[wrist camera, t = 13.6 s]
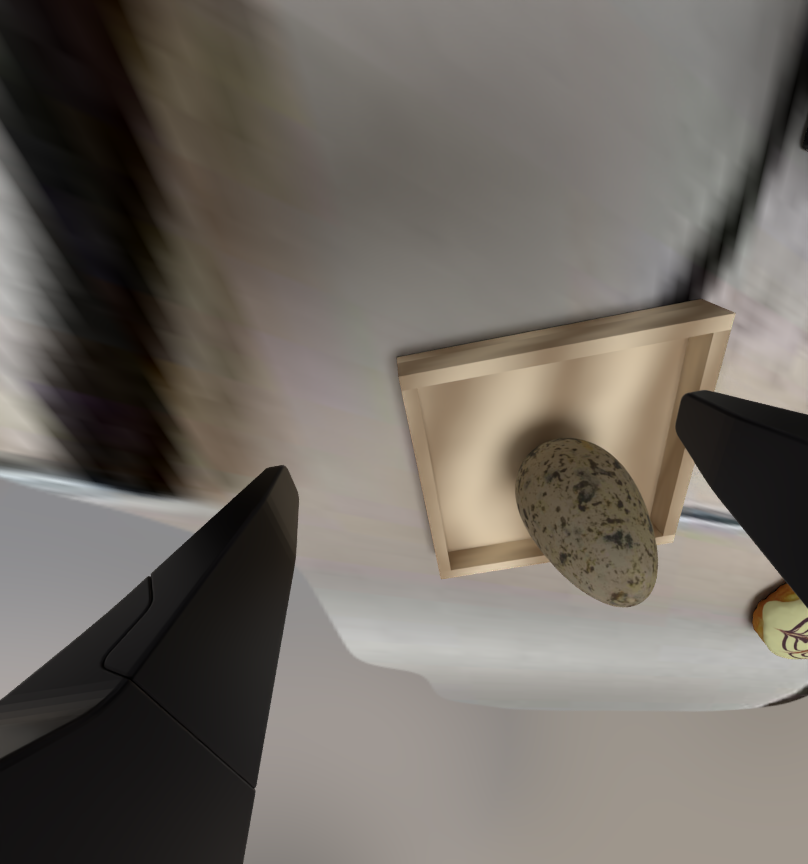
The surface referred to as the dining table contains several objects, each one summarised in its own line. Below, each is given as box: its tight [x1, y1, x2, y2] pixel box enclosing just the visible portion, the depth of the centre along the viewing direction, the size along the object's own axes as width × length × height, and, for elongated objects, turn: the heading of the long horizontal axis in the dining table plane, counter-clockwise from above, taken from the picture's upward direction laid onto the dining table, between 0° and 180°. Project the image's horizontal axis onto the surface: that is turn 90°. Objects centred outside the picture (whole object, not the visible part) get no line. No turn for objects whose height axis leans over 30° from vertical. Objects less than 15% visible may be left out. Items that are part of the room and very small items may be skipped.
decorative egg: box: [515, 438, 658, 607], centre depth 21 cm, size 6×6×10 cm
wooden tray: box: [397, 299, 736, 579], centre depth 25 cm, size 16×16×2 cm
